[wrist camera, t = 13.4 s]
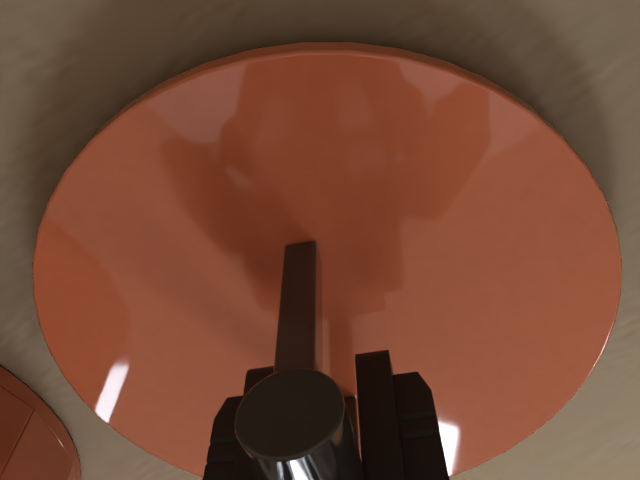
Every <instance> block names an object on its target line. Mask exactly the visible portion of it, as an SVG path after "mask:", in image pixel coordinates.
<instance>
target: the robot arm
mask: <svg viewBox="0 0 640 480" xmlns="http://www.w3.org/2000/svg"><path fill="white" fill-rule="evenodd" d="M355 366H356V382H357V398H358V414H359V430H360V445H361V461H362V465H363V469H364V474H365V480H449V475H448V470H447V465H446V460H445V455H444V450H443V445H442V440H441V435H440V430H439V425H438V420H437V415H436V410H435V405H434V400H433V395H432V390H431V388H430V387H429V386H428V385H427V383H426V382H425V381H424V379H423V378H422V377H421V375H420V374H419V373H418V371H417V372H410V373H402V374H395V375H394V373H393V368H392V363H391V358H390V353H389V350H382V351H375V352H368V353H361V354H355ZM273 371H274V366H269V367H262V368H255V369H249V370H248V371H247V373H246V378H245V385H244V392H243V395H242V396H235V397H227V398H226V400H225V402H224V403H223V405H222V407H221V408H220V410H219V411H218V413H217V415H216V416H215V418H214V422H213V427H212V432H211V438H210V446H209V448H208V454H207V459H206V461H207V465H205V470H204V475H203V480H256V478H255V475H254V473H253V471H252V469H251V467H250V465H249V462H248V460H247V458H246V456H245V454H244V451H243V449H242V447H241V445H240V443H239V441H238V438H237V436H236V432H235V417H236V413H237V410H238V407H239V405H240V403H241V401H242V399H243V398H244V396H245V395H246V393H247V392H248V391H249V390H250V389H251V388H252V387H253V386H254V385H255V384H257V383H258V382H259V381H261V380H262V379H264V378H265V377H267V376H269V375H271V374H273Z"/></svg>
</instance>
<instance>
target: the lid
mask: <svg viewBox="0 0 640 480" xmlns="http://www.w3.org/2000/svg"><path fill="white" fill-rule="evenodd" d="M32 265H33V296H34V301H35V306H36V311H37V316H38V320H39V325H40V327H41V330H42V333H43V335H44V338H45V340H46V343H47V346H48V348H49V351H50V353H51V354H52V356H53V358H54V360H55V361H56V363H57V365H58V367H59V369H60V370H61V372H62V374H63V376H64V377H65V378H66V380H67V381H68V382H69V383H70V385H71V386H72V387H73V389H74V390H75V391H76V393H77V394H78V395H79V397H80V398H81V399H82V400H83V401H84V402H85V403H86V404H87V405H88V406H89V407H90V408H91V409H92V410H93V411H94V412H95V413H96V414H97V415H98V416H99V417H100V418H101V419H102V420H103V421H104V422H106V423H107V424H108V425H109V426H111V427H112V428H113V429H114V430H116V431H117V432H118V433H119V434H121V435H122V436H123V437H125V438H126V439H128V440H129V441H131V442H132V443H134V444H135V445H137V446H139V447H140V448H142V449H143V450H145V451H146V452H148V453H150V454H152V455H154V456H156V457H158V458H160V459H162V460H163V461H165V462H167V463H169V464H171V465H173V466H176V467H178V468H181V469H183V470H185V471H188V472H190V473H193V474H195V475H198V476H200V477H203V475H204V470H205V465H207V461H206V459H207V454H208V448H209V446H210V438H211V432H212V427H213V422H214V418H215V416H216V415H217V413H218V411H219V410H220V408H221V407H222V405H223V403H224V402H225V400H226V398H227V397H235V396H242V395H243V392H244V385H245V378H246V373H247V371H248V370H249V369H255V368H262V367H269V366H274V371H273V374H271V375H269V376H267V377H265V378H264V379H262V380H261V381H259V382H258V383H257V384H255V385H254V386H253V387H252V388H251V389H250V390H249V391H248V392H247V393H246V395H245V396H244V398H243V399H242V401H241V403H240V405H239V407H238V410H237V413H236V417H235V432H236V436H237V438H238V441H239V443H240V445H241V447H242V449H243V451H244V454H245V456H246V458H247V460H248V462H249V465H250V467H251V469H252V471H253V473H254V475H255V478H256V480H365V474H364V469H363V465H362V461H361V445H360V430H359V414H358V398H357V382H356V366H355V354H361V353H368V352H375V351H382V350H389V353H390V358H391V363H392V368H393V373H394V375H395V374H402V373H410V372H417V371H418V373H419V374H420V375H421V377H422V378H423V379H424V381H425V382H426V383H427V385H428V386H429V387H430V388H431V390H432V395H433V400H434V405H435V410H436V415H437V420H438V425H439V430H440V435H441V440H442V445H443V450H444V455H445V460H446V465H447V470H448V475H449V477H451V476H454V475H456V474H459V473H461V472H463V471H466V470H468V469H471V468H473V467H475V466H478V465H480V464H482V463H484V462H486V461H488V460H490V459H492V458H494V457H496V456H498V455H500V454H501V453H503V452H505V451H507V450H509V449H510V448H512V447H513V446H515V445H516V444H518V443H519V442H521V441H522V440H524V439H525V438H527V437H528V436H530V435H531V434H533V433H534V432H535V431H536V430H538V429H539V428H540V427H541V426H542V425H544V424H545V423H546V422H547V421H549V420H550V419H551V418H552V417H553V416H554V415H555V414H556V413H557V412H558V411H559V410H560V409H561V408H562V407H563V406H564V405H565V404H566V403H567V402H568V401H569V400H570V399H571V398H572V397H573V396H574V395H575V393H576V392H577V391H578V389H579V388H580V387H581V385H582V384H583V383H584V382H585V380H586V379H587V378H588V376H589V375H590V374H591V372H592V370H593V368H594V367H595V365H596V363H597V361H598V359H599V358H600V356H601V354H602V352H603V351H604V349H605V346H606V344H607V341H608V338H609V336H610V333H611V331H612V328H613V325H614V323H615V319H616V314H617V309H618V304H619V299H620V294H621V268H622V260H621V254H620V247H619V241H618V234H617V229H616V226H615V223H614V220H613V217H612V215H611V212H610V209H609V206H608V203H607V200H606V198H605V196H604V194H603V193H602V191H601V189H600V187H599V186H598V184H597V182H596V180H595V179H594V177H593V175H592V173H591V172H590V170H589V168H588V167H587V165H586V164H585V163H584V162H583V161H582V159H581V158H580V157H579V156H578V154H577V153H576V152H575V151H574V150H573V149H572V147H571V146H570V145H569V144H568V143H567V141H566V140H565V139H564V138H563V137H562V135H561V134H560V133H559V132H558V131H557V129H556V128H555V127H554V126H552V125H551V124H550V123H549V122H548V121H547V120H545V119H544V118H543V117H542V116H541V115H540V114H538V113H537V112H536V111H535V110H534V109H533V108H531V107H530V106H529V105H528V104H527V103H526V102H524V101H523V100H521V99H520V98H518V97H516V96H515V95H513V94H512V93H510V92H508V91H507V90H505V89H503V88H502V87H500V86H499V85H497V84H495V83H494V82H492V81H490V80H489V79H487V78H485V77H482V76H480V75H478V74H475V73H473V72H471V71H468V70H466V69H464V68H461V67H459V66H457V65H454V64H452V63H450V62H447V61H445V60H441V59H437V58H433V57H430V56H426V55H422V54H419V53H415V52H411V51H407V50H404V49H400V48H393V47H385V46H377V45H369V44H362V43H354V42H301V43H294V44H287V45H279V46H272V47H265V48H258V49H252V50H248V51H245V52H241V53H238V54H234V55H231V56H227V57H224V58H220V59H217V60H213V61H209V62H206V63H204V64H202V65H199V66H197V67H195V68H193V69H190V70H188V71H186V72H184V73H181V74H179V75H177V76H175V77H172V78H170V79H168V80H165V81H164V82H162V83H161V84H159V85H157V86H156V87H154V88H153V89H151V90H149V91H148V92H146V93H145V94H143V95H142V96H140V97H138V98H137V99H135V100H134V101H132V102H130V103H129V104H128V105H126V106H125V107H124V108H123V109H122V110H121V111H120V112H118V113H117V114H116V115H115V116H114V117H113V118H112V119H110V120H109V121H108V122H107V123H106V124H105V125H104V126H102V127H101V128H100V129H99V130H98V131H97V132H96V133H95V135H94V136H93V137H92V138H91V139H90V141H89V142H88V143H87V144H86V145H85V147H84V148H83V149H82V150H81V151H80V153H79V154H78V155H77V156H76V158H75V159H74V160H73V161H72V163H71V164H70V165H69V166H68V168H67V169H66V170H65V172H64V174H63V176H62V178H61V179H60V181H59V183H58V185H57V186H56V188H55V190H54V192H53V193H52V195H51V197H50V199H49V200H48V203H47V206H46V209H45V212H44V214H43V217H42V220H41V223H40V226H39V229H38V232H37V237H36V244H35V250H34V257H33V263H32Z"/></svg>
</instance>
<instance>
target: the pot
mask: <svg viewBox="0 0 640 480" xmlns="http://www.w3.org/2000/svg"><path fill="white" fill-rule="evenodd" d="M0 480H81V468H80V463H79V458H78V454H77V451H76V449H75V446H74V444H73V441H72V439H71V437H70V436H69V434H68V432H67V431H66V429H65V428H64V426H63V424H62V423H61V421H60V420H59V419H58V418H57V416H56V415H55V414H54V413H53V412H52V410H51V409H50V408H49V407H48V406H47V404H46V403H45V402H43V401H42V400H41V399H40V398H39V397H38V396H37V395H36V394H35V393H34V392H33V391H32V390H31V389H30V388H29V387H28V386H26V385H25V384H24V383H22V382H21V381H20V380H19V379H17V378H16V377H15V376H13V375H12V374H11V373H10V372H8V371H7V370H5V369H4V368H2V367H1V366H0Z"/></svg>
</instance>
